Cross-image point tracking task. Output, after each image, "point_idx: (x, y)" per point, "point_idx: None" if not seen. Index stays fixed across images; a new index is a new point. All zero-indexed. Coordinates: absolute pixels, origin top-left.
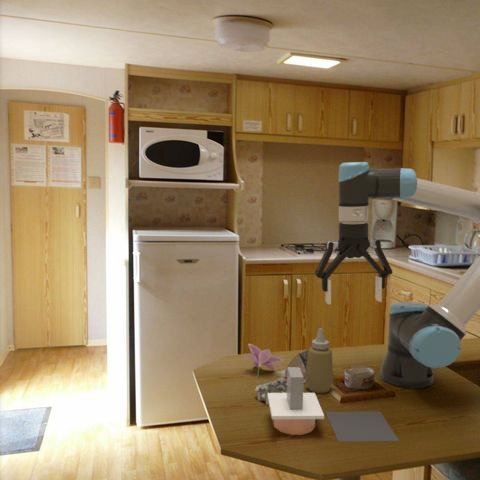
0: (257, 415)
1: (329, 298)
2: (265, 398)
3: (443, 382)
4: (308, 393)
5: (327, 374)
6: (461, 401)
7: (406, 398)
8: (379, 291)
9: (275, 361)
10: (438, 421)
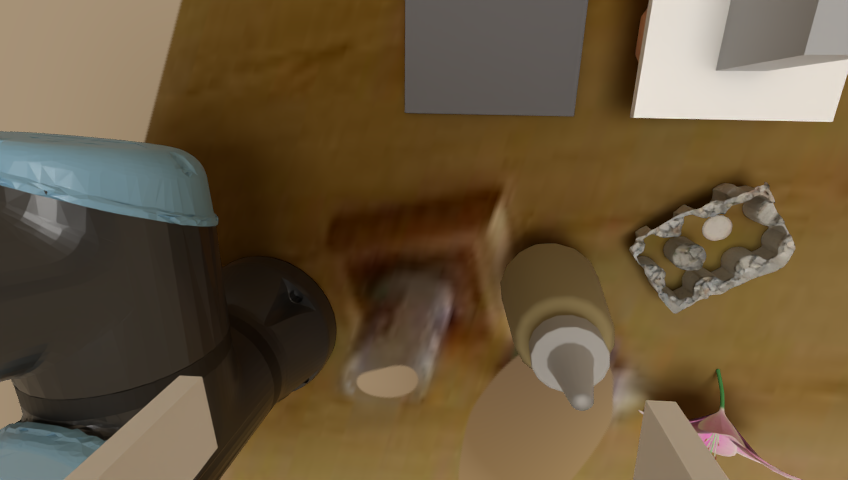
0: None
1: (691, 446)
2: (750, 217)
3: None
4: (660, 112)
5: (536, 259)
6: None
7: (304, 203)
8: (124, 447)
9: None
10: (259, 62)
